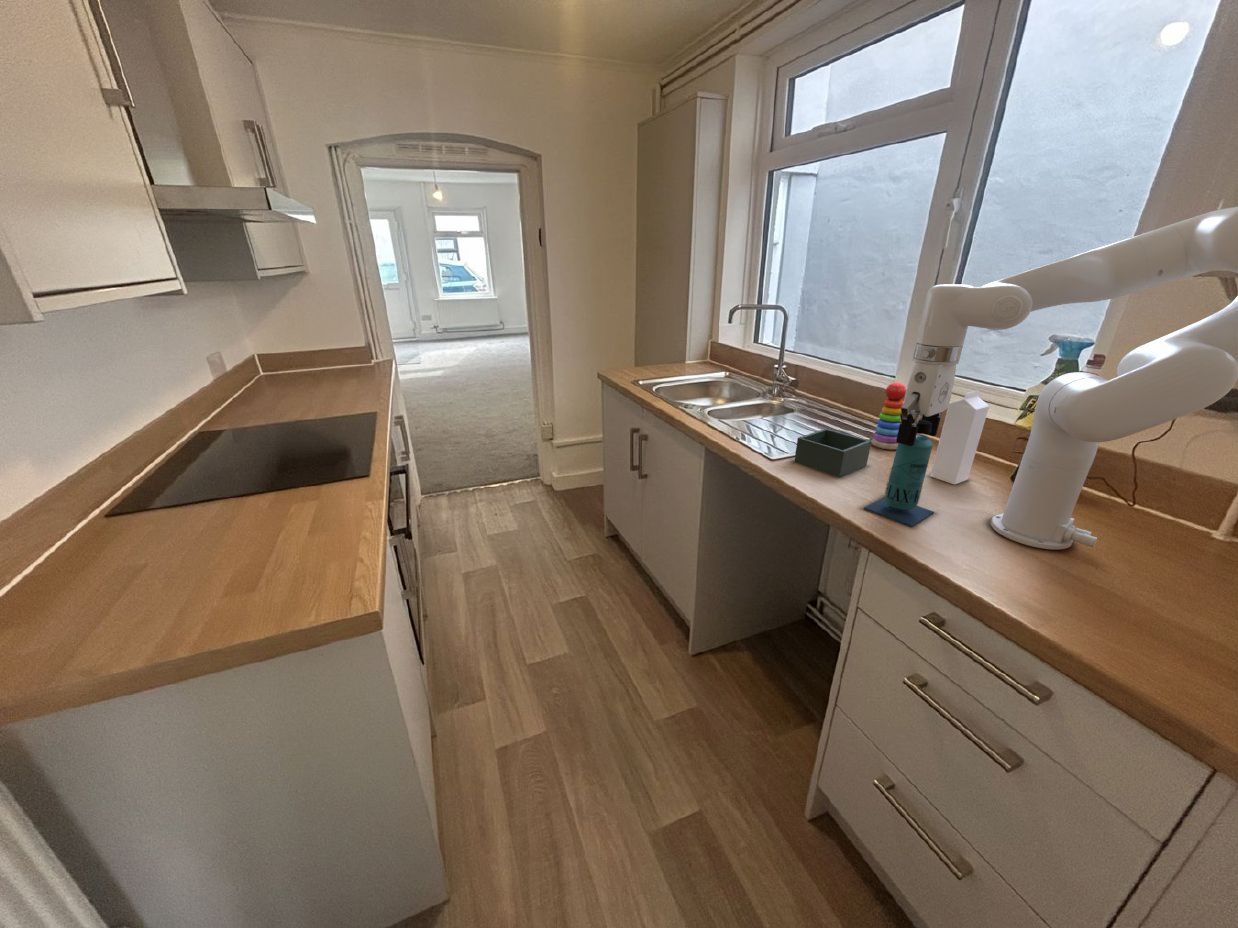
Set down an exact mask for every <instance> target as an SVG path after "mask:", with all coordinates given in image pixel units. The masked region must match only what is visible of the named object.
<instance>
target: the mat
mask: <svg viewBox="0 0 1238 928" xmlns="http://www.w3.org/2000/svg"><path fill="white" fill-rule="evenodd" d="M884 498H885V496H883V497H881V498H879V499H877V500H875V501H873V502H872V503H870V504H868V505H866V506H864V508H863V509H864V510H865V511H868V512H871V513H873V514H876V515H879V516H881V517H883V518H886V519H888V520H891V521H894V522H897V523H899V524H902V525H904V526H907V527H910V528H913V527H915V526H916V525H918V524H919V523H921V522H922V521H924V520H926V519H927V518H928V517H930V516H932V515H933V514H935V511H934V510H930V509H927V508H924V507H921V506H919V505H917V506H916V508H914V509H912V510H903V509H898V508H894V507H892V506H889V505H888V504H886V503H885V499H884Z"/></svg>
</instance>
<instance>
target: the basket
mask: <svg viewBox="0 0 1238 928" xmlns="http://www.w3.org/2000/svg"><path fill="white" fill-rule="evenodd" d="M871 445H872V440H869V439H865V438H862V437H858V436H854V435H851V434H847V433H844V432H839V431H836V430H832V429H829V428H823V429H820V430H817V431H814V432H812V433H808V434H806V435H803V436H800V437H799V436H798V437H797V441H796V447H795V454H794V461H793V463H796V464H799V465H801V466H804V467H807V468H810V469H813V470H815V471H819V472H822V473H824V474H828V475H830V476H832V477H835V478H842V477H844V476H846V475H849V474H852V473H853V472H856V471H858V470H860V469H863V468H864V467H867V466H868V461H869V456H870V450H871Z"/></svg>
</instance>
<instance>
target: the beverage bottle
mask: <svg viewBox="0 0 1238 928" xmlns="http://www.w3.org/2000/svg"><path fill="white" fill-rule="evenodd" d="M916 426H918V431H917V435H916V439H915V443H914V445H913V446H908V445H904V444H900V443H898V445H897V449H895V454H894V458H893V462H892V466H891V468H890V472H889V476H888V481H886V482H887V483H886V487H885V491H884V497H885V498H884V499H885V503H886V504H888V505H889V506H892V507H894V508H898V509H903V510H912V509H914V508H916V506H918V505H919V501H920V499H921V495H922V490H923V485H924V483H925V482H924V481H925V478H926V474H927V471H928V468H929V461H930V457H931V455H932V451H933V448H934V443H933V441H931V439H930V438H929V437H927V435H925V434H929V433H931V427H932V423H931V422H929V421H926V420H922V418H920V420H919V422H918V424H917V425H916Z"/></svg>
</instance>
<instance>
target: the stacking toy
mask: <svg viewBox="0 0 1238 928" xmlns="http://www.w3.org/2000/svg"><path fill="white" fill-rule="evenodd" d="M906 390H907V386H905V385H904V384H903V383H901V382H891V383H890V384H889V385H888V386H887V387H886V389H885V396H886V399H884V401H883V406H882V408H881V412H880V413H879V419H878V420H877V425H876V426H875V432H873V435H872V436H873V438H872V439H871V441H872V442H871V445H873V446H874V447H876V448H879V449H883V450H889V451H890V450H893V451H894V450H896V449H897V445H898V443H897V442H896V439H897V435H898V430H899V426H900V423H899V422H900V419H901V418H900V414H901V406H902V405H903V403H904V399H903V398H905V394H906Z"/></svg>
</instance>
